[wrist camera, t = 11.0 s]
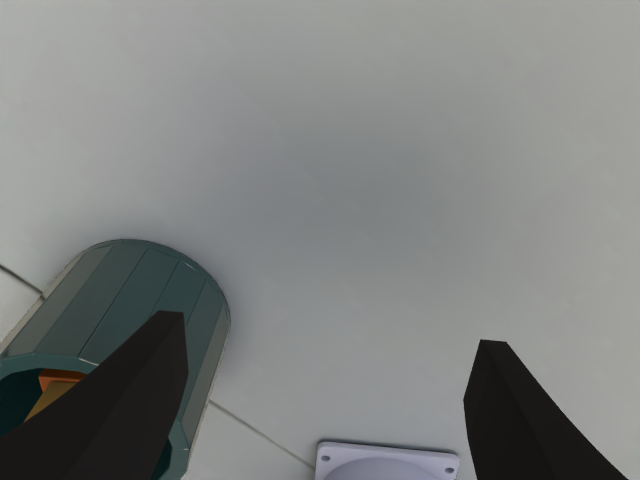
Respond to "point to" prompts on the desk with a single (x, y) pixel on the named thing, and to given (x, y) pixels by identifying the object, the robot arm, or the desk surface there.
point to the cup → (118, 331)
